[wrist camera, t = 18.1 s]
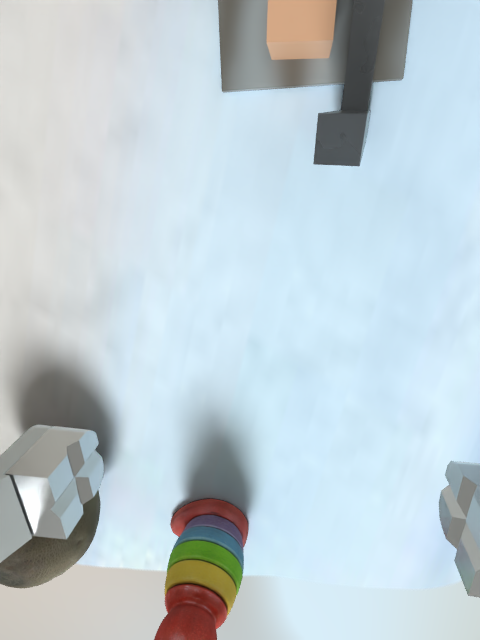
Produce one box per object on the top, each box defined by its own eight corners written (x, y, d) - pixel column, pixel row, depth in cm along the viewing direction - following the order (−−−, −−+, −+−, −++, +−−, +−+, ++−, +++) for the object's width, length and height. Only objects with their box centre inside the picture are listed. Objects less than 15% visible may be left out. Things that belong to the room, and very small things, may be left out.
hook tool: (270, 140, 33) (213, 160, 21) (278, -61, 26) (202, -189, 15) (365, 143, 31) (359, 166, 19) (399, -75, 24) (422, -240, 13)
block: (271, 59, 29) (266, 42, 25) (274, -12, 28) (269, -43, 23) (329, 58, 29) (333, 39, 25) (335, -16, 27) (341, -48, 23)
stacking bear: (167, 520, 53) (107, 674, 37) (202, 482, 49) (152, 637, 33) (227, 557, 55) (195, 723, 38) (267, 523, 50) (249, 692, 34)
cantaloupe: (67, 510, 56) (-9, 620, 43) (11, 440, 52) (-93, 537, 39) (140, 491, 52) (82, 607, 38) (86, 413, 48) (-1, 512, 34)
